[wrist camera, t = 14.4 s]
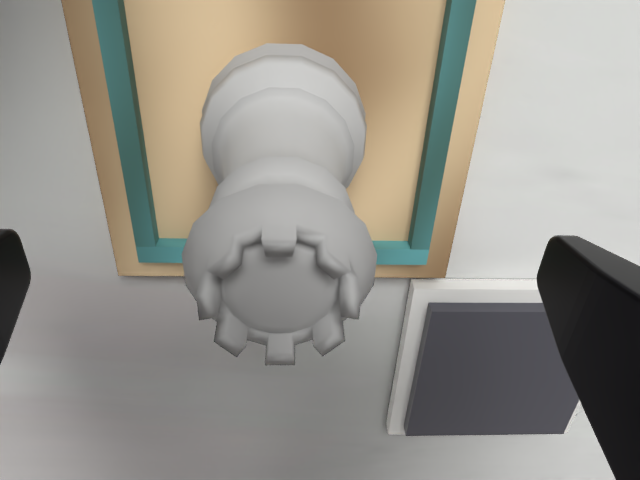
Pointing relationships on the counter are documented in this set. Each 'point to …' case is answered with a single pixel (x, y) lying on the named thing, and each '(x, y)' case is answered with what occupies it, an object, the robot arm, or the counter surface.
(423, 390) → the ink pad
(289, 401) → the counter surface
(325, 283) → the rook chess piece
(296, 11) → the print board
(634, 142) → the counter surface
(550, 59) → the counter surface
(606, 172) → the counter surface
